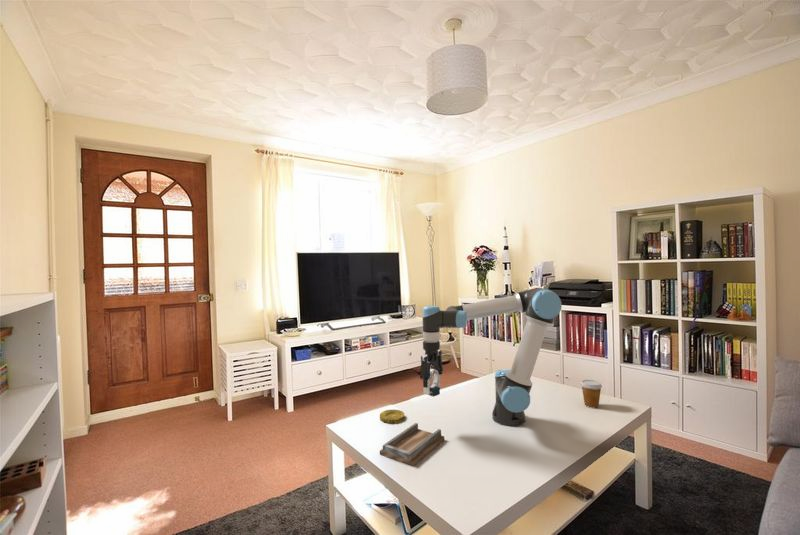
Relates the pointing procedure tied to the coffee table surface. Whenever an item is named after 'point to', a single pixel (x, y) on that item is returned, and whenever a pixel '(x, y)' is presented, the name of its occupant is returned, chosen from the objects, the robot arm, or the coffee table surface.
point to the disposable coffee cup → (591, 392)
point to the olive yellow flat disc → (391, 416)
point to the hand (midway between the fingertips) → (431, 391)
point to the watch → (434, 383)
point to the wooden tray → (412, 445)
